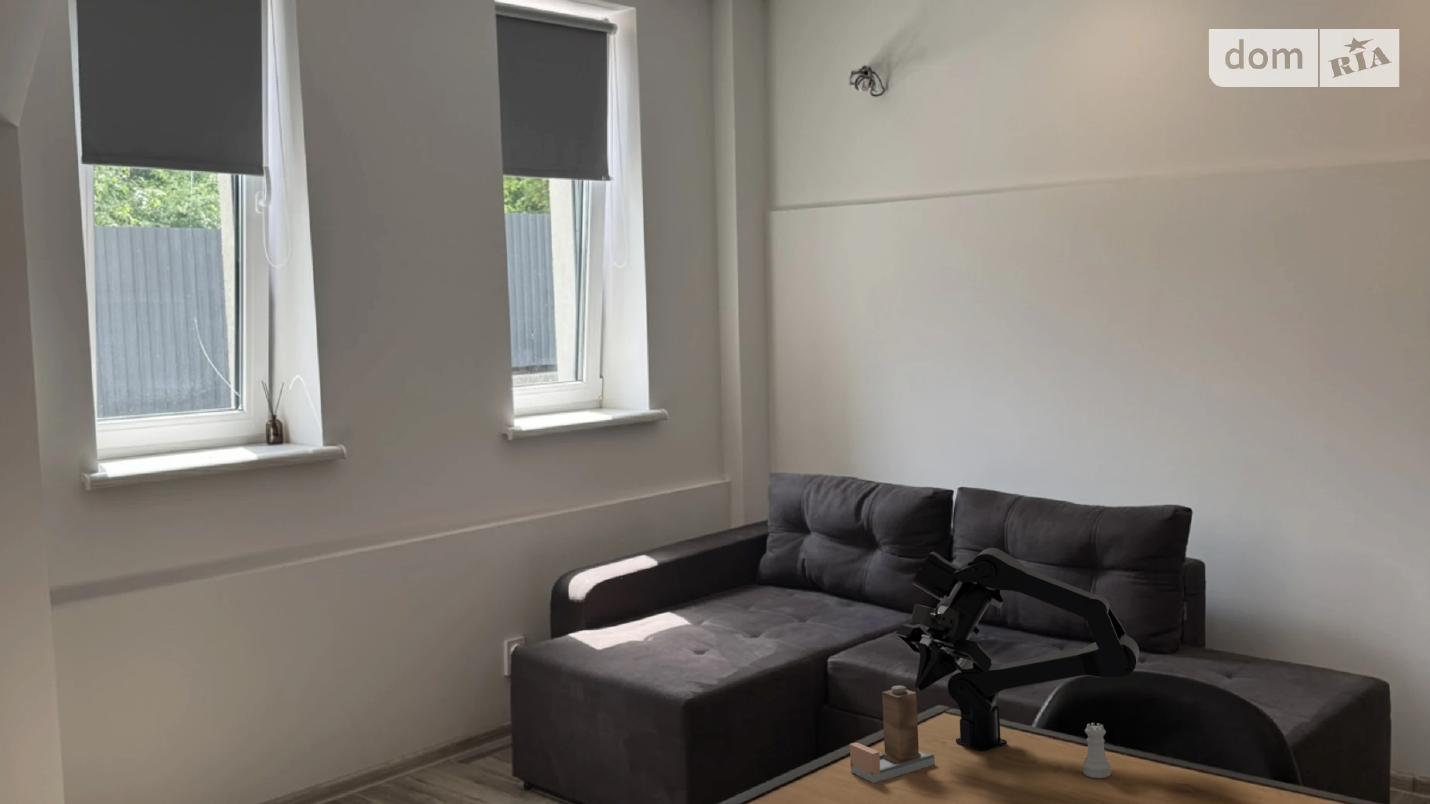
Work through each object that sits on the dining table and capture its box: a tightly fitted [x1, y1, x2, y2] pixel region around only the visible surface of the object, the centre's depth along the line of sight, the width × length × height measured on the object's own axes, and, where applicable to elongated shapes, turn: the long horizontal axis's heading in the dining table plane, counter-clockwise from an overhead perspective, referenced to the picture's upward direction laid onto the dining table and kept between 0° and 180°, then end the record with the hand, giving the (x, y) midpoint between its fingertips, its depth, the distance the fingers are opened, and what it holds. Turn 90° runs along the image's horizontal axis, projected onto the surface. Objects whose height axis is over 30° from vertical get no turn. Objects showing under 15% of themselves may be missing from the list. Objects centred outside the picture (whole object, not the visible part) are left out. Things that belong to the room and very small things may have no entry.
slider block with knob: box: [881, 685, 921, 764], centre depth 199 cm, size 5×4×12 cm
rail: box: [849, 742, 936, 784], centre depth 198 cm, size 13×6×5 cm, turn 121°
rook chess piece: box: [1082, 722, 1112, 780], centre depth 191 cm, size 4×4×8 cm
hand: (917, 688), depth 201 cm, fingers closed
